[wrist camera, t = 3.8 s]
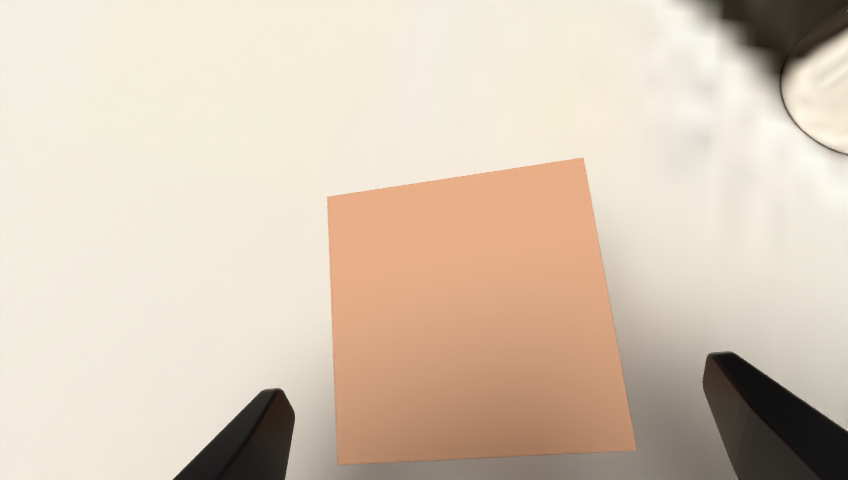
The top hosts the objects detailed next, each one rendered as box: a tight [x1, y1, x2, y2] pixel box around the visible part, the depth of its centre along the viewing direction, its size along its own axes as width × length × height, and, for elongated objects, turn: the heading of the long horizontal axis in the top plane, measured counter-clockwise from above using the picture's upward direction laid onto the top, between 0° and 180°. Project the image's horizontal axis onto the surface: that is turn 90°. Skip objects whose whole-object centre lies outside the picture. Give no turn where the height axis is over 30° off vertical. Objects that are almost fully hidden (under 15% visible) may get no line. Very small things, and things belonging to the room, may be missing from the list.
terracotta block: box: [327, 158, 637, 465], centre depth 14 cm, size 5×5×11 cm
